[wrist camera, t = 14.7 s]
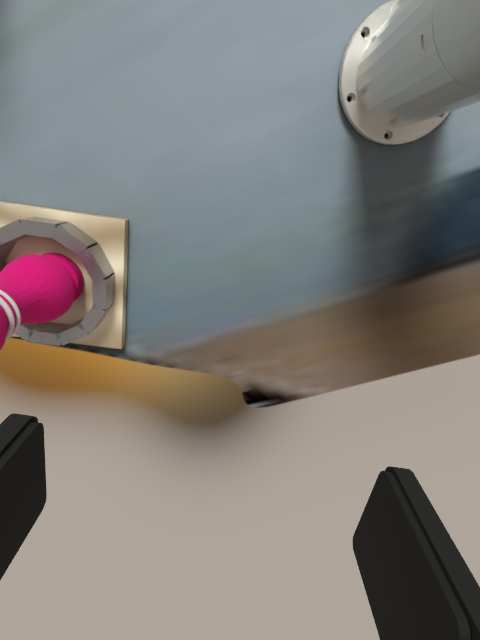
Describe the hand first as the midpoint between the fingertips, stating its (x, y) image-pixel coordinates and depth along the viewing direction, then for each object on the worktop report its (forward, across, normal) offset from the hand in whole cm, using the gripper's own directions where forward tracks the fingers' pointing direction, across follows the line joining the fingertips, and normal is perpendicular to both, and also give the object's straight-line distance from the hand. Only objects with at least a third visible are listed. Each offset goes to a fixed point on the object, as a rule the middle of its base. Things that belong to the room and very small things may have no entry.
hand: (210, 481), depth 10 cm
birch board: (+34, +20, +7) cm, 41 cm away
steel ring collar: (+33, +20, +7) cm, 39 cm away
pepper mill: (+33, +20, +7) cm, 39 cm away
